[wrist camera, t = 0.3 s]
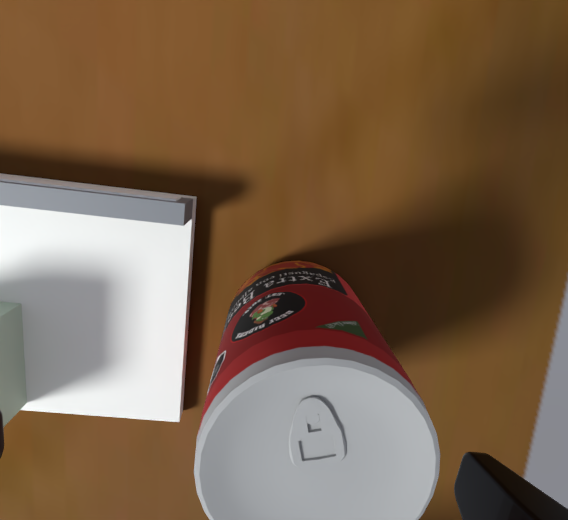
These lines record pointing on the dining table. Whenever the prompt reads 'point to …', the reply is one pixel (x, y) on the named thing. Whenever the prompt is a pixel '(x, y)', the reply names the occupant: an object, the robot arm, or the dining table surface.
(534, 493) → the robot arm
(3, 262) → the shelf
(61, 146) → the dining table surface
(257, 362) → the canned food
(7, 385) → the carton
